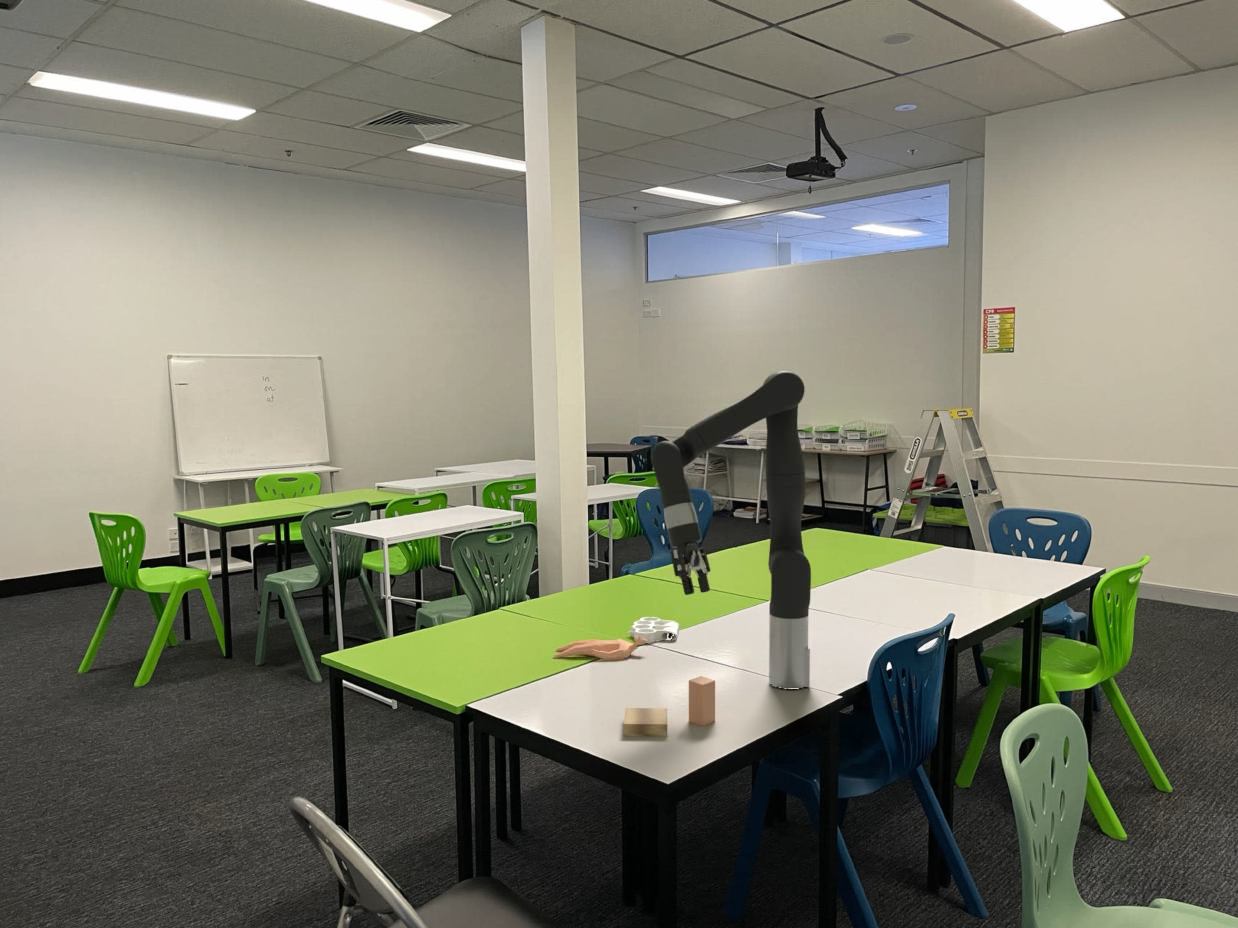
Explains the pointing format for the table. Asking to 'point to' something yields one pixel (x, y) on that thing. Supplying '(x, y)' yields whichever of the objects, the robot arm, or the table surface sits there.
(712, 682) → the block
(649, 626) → the white dimpled tray
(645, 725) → the base slab
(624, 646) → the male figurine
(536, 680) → the table surface
